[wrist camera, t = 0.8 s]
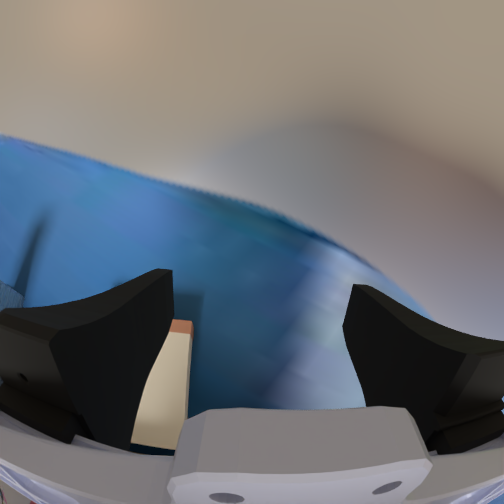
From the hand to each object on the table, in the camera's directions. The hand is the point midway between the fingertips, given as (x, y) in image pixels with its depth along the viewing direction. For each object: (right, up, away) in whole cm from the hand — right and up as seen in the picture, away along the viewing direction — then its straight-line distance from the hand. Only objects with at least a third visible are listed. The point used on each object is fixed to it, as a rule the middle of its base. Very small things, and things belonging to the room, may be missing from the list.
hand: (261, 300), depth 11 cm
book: (-10, -9, +10) cm, 16 cm away
